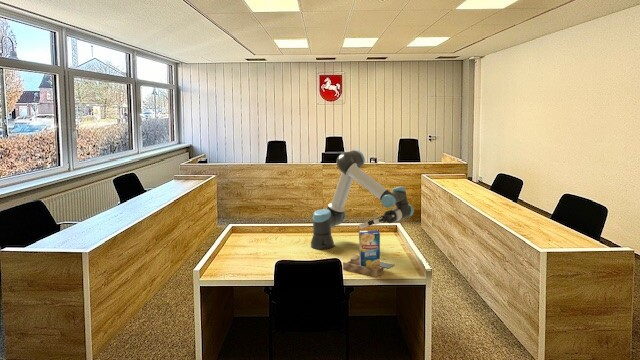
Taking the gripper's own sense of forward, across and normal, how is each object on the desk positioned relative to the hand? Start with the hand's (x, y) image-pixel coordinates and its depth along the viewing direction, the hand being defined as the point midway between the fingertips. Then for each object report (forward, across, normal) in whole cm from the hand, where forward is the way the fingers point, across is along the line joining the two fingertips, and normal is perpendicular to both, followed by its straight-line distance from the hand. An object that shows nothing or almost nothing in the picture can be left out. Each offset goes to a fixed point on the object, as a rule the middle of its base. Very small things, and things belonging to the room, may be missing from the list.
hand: (366, 224), depth 306 cm
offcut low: (+10, +10, -21) cm, 25 cm away
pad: (-3, +4, -24) cm, 25 cm away
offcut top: (+10, +9, -18) cm, 23 cm away
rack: (+11, +2, -24) cm, 27 cm away
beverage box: (+7, +2, -25) cm, 26 cm away
